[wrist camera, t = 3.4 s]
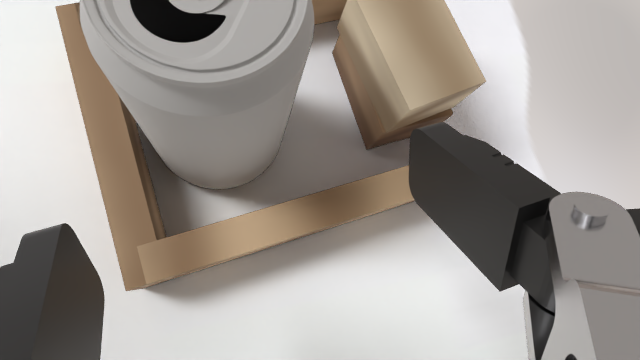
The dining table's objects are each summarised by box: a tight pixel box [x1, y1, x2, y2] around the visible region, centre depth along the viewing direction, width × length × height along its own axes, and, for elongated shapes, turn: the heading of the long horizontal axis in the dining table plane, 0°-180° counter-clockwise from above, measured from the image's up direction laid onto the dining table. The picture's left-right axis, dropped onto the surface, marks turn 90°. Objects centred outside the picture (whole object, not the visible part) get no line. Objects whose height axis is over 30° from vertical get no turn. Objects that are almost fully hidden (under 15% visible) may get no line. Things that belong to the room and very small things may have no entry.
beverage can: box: [80, 0, 314, 189], centre depth 16 cm, size 6×6×12 cm
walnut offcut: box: [332, 35, 453, 150], centre depth 23 cm, size 4×6×3 cm, turn 19°
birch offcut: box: [337, 0, 486, 133], centre depth 20 cm, size 4×6×3 cm, turn 24°
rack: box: [55, 0, 415, 291], centre depth 21 cm, size 17×13×3 cm
